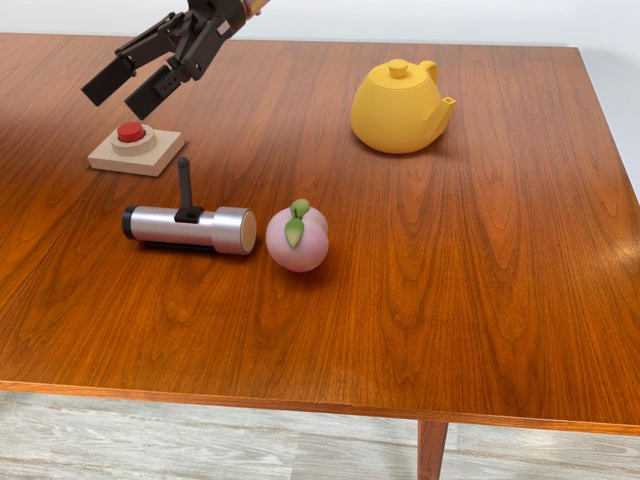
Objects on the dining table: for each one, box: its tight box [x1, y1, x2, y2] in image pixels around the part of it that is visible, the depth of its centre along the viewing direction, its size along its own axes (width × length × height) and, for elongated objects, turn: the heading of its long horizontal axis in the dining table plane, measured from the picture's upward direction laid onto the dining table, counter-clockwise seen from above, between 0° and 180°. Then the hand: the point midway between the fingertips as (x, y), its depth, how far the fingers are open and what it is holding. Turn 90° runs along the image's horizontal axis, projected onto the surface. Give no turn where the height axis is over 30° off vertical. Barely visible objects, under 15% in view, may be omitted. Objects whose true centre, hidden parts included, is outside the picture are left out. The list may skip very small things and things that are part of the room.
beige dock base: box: [87, 123, 186, 177], centre depth 98 cm, size 12×10×4 cm
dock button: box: [116, 121, 145, 143], centre depth 96 cm, size 4×4×2 cm
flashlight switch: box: [176, 156, 194, 208], centre depth 78 cm, size 2×2×7 cm
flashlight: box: [121, 204, 257, 256], centre depth 81 cm, size 17×6×6 cm, turn 82°
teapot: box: [350, 58, 457, 155], centre depth 98 cm, size 20×19×13 cm
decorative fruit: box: [265, 198, 330, 273], centre depth 77 cm, size 9×8×10 cm
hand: (109, 104), depth 71 cm, fingers open, 13 cm apart
